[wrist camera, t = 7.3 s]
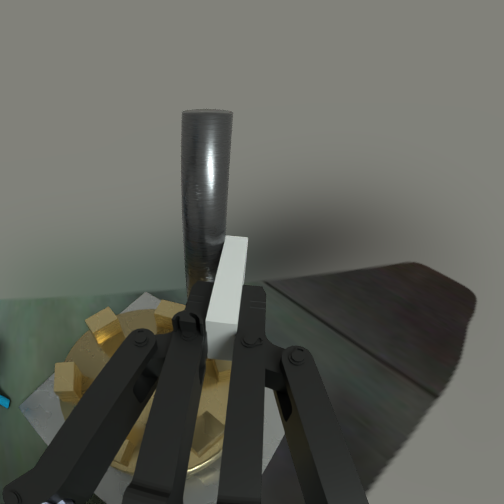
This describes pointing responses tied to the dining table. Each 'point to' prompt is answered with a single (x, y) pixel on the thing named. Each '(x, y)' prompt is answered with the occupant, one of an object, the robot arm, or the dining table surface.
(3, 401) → the gear
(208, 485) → the white square base plate
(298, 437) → the robot arm
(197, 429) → the gold toothed rod mount
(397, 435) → the dining table surface
